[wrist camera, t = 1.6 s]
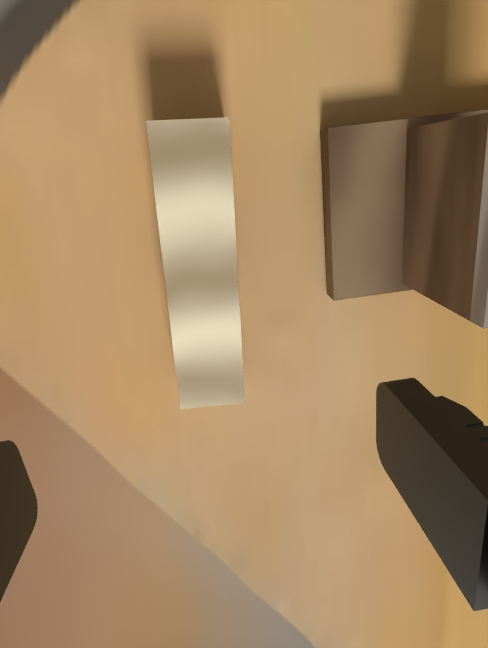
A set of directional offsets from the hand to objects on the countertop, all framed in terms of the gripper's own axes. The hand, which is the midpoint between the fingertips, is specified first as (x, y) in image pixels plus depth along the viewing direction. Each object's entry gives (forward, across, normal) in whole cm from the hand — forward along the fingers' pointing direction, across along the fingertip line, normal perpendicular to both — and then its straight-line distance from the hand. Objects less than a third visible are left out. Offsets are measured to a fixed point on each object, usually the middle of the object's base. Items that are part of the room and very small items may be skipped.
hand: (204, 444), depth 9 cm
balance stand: (+18, -14, -2) cm, 23 cm away
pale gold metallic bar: (+18, 0, 0) cm, 18 cm away
